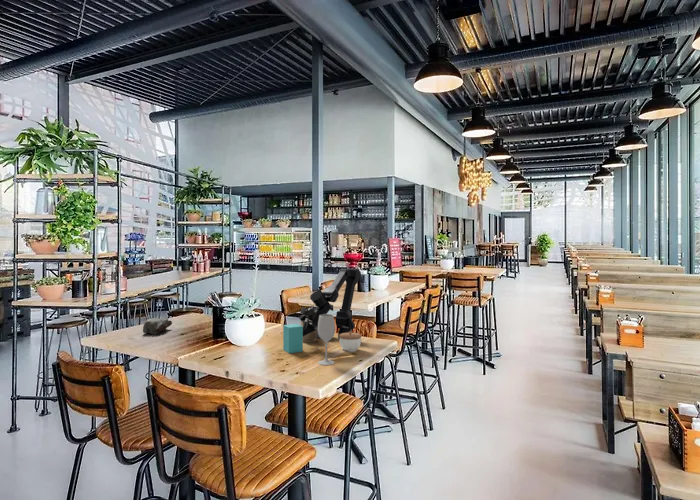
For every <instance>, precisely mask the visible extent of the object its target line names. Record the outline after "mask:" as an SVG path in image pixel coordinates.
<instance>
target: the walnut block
mask: <svg viewBox="0 0 700 500" xmlns="http://www.w3.org/2000/svg"><path fill="white" fill-rule="evenodd" d="M300 325H301V326H303V322H302V321H301V320H300ZM313 342H314V343H315V342H317V338H316V331H313V332H311V333H309V334H307V335H305V336H303V343H313Z"/></svg>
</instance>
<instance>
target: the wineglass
mask: <svg viewBox="0 0 700 500" xmlns="http://www.w3.org/2000/svg"><path fill="white" fill-rule="evenodd" d="M335 333H336V322H335V318H334V315H333V314H329V313H327V314H322V315H320V316H319V321H318V335H319V337H320V338H319V339H321V340H322V341H323V342H324V343H325V345H324V346H325V347H324V348H325V349H324V350H325V357H324V359H323V360H319V361H317V363H318V365H320V366H332V365H334V364H335V361H333V360H331V359H329V358H328V342H330V340H331V339H333V338H334V336H335Z"/></svg>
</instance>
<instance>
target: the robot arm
mask: <svg viewBox="0 0 700 500" xmlns="http://www.w3.org/2000/svg"><path fill="white" fill-rule="evenodd" d="M361 275H362V272H361V271H360V269H359V268H350V267H349V268H341V269H339V272H338V274H337V275H336V277H335V279H334V280H333V282H332V283H331V284H330V285H329V286H328V287H326V288H325V289H323V291H322V290H321V289H316V290H315V291H313V292H312V293H311V294H310V300H311V302H312V303H313V304H314V305H315V307H316V308H312V307H309V308H307V307H303V306H302V307H301V309H300V312H299V313H300V314H301V315H300V316H298V319H299V320H300V322H301V321H302V322H303V336H305V335H307V334H309V333H311V332H313V331H316V328H317V327H318V321H319V316H320V315H322V314H329V312H330V311H332V312H333V311H334V304H331V303H336V302H337V300H338V298H339V293H340V290H341V288H342V286H343V285H344V283H345V289H344V293H343V299H342V304H341V308H340V310H337V312H336V315H335V318H334V323H335V328H337V329H338V331H337V332H338V333H337V335H338V336H337V338H338V339H339V340H340V337H339V335H340V334H342V333H349V331H351V333H353V332H352V331H353V330H354V329H355V325H356V324H355V323H354V321H353V314H352V312H351V310H352V309H351V308H352V303H353V299H354V298H353V297H354V294H355V288H356V285H357V283H359V281H360V278H361Z"/></svg>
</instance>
